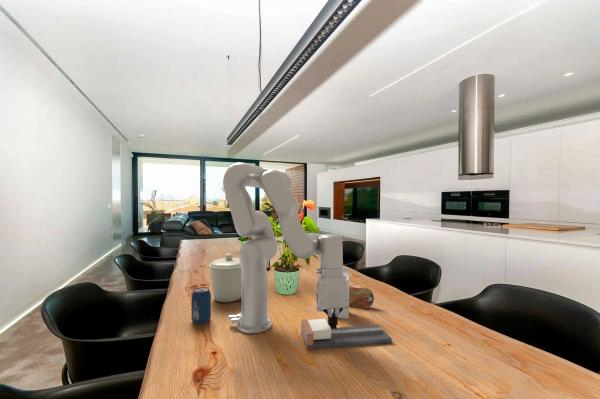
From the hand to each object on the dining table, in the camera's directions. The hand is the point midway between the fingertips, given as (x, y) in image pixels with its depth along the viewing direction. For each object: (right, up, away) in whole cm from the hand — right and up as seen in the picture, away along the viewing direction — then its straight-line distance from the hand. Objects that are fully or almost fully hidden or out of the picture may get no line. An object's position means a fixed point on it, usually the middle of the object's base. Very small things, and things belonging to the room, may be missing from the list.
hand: (332, 327), depth 92 cm
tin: (+14, -5, +30) cm, 33 cm away
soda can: (-48, -4, +14) cm, 50 cm away
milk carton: (+5, -5, +20) cm, 22 cm away
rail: (+4, -4, +1) cm, 6 cm away
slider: (-5, -2, 0) cm, 5 cm away
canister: (-44, -4, +38) cm, 58 cm away
